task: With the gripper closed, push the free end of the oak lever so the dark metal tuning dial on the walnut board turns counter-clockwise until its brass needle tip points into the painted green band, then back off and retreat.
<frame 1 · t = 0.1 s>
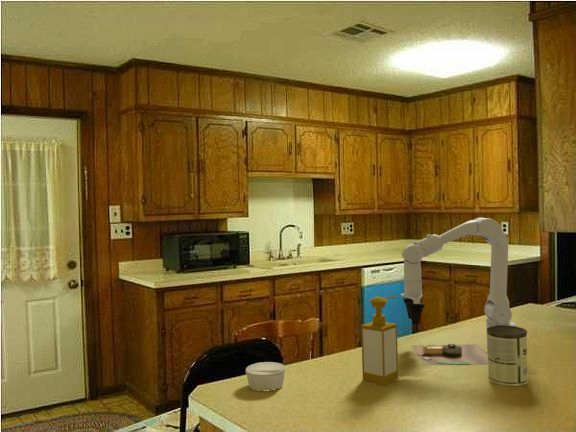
hand: (413, 321, 179), 10 cm above the kitchen counter, tool pointing down, fingers open, 7 cm apart
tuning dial: (442, 349, 171), point 3 cm above the kitchen counter, hinge at 0.0°
coffee can: (507, 380, 149), on the kitchen counter
ramekin: (266, 387, 150), on the kitchen counter
walnut board: (452, 357, 171), on the kitchen counter
soap bottle: (385, 377, 155), on the kitchen counter
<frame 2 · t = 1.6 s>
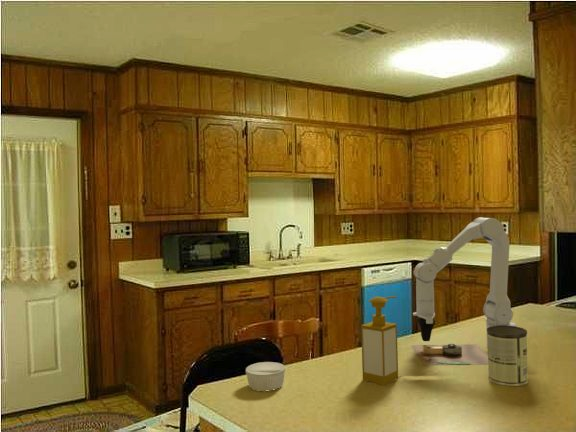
hand: (426, 340, 177), 4 cm above the kitchen counter, tool pointing down, fingers closed
nothing on the kitchen counter moved.
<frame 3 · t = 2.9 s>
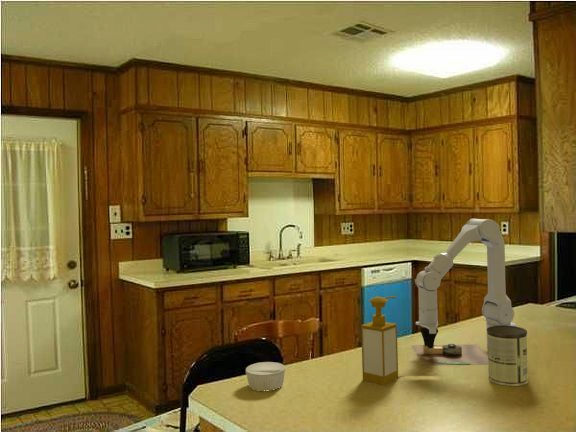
hand: (429, 350, 173), 2 cm above the kitchen counter, tool pointing down, fingers closed, pressing on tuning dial
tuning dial: (442, 349, 171), point 3 cm above the kitchen counter, hinge at 0.1°, touching gripper
everything else where it was.
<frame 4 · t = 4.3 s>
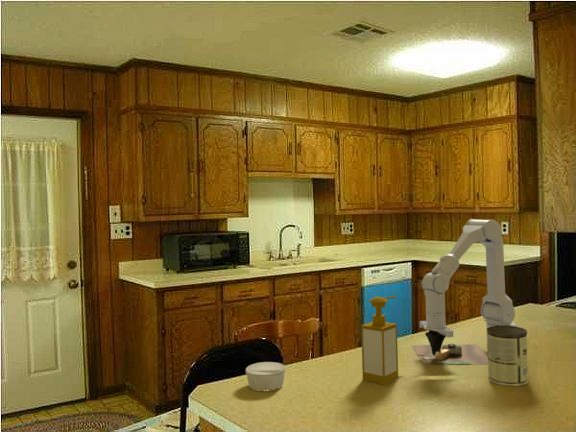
hand: (436, 355, 168), 2 cm above the kitchen counter, tool pointing down, fingers closed, pressing on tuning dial
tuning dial: (447, 351, 169), point 3 cm above the kitchen counter, hinge at 49.4°, touching gripper
everything else where it was.
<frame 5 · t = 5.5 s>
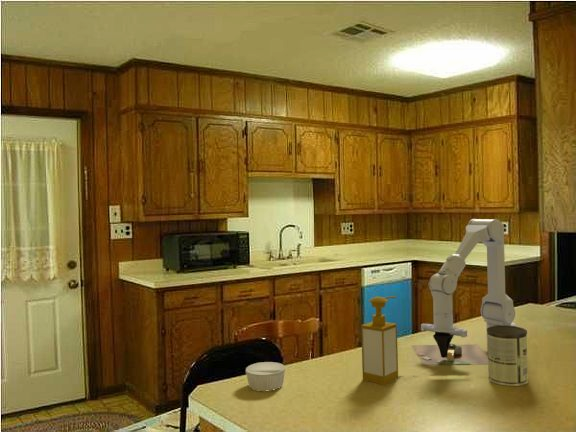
hand: (444, 356, 166), 2 cm above the kitchen counter, tool pointing down, fingers closed
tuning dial: (451, 351, 168), point 3 cm above the kitchen counter, hinge at 73.8°, touching gripper
everything else where it was.
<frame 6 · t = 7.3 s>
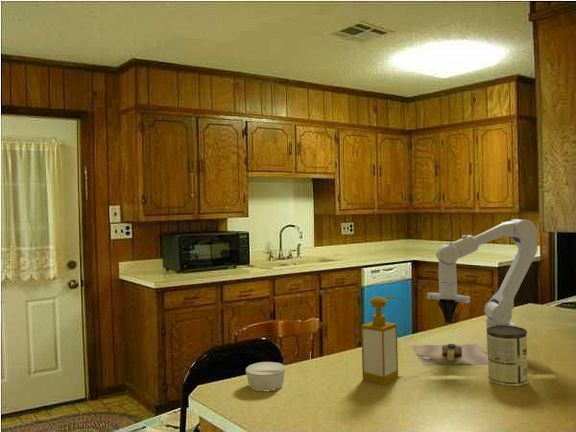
hand: (448, 322, 179), 9 cm above the kitchen counter, tool pointing down, fingers closed
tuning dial: (451, 351, 168), point 3 cm above the kitchen counter, hinge at 74.2°
everything else where it was.
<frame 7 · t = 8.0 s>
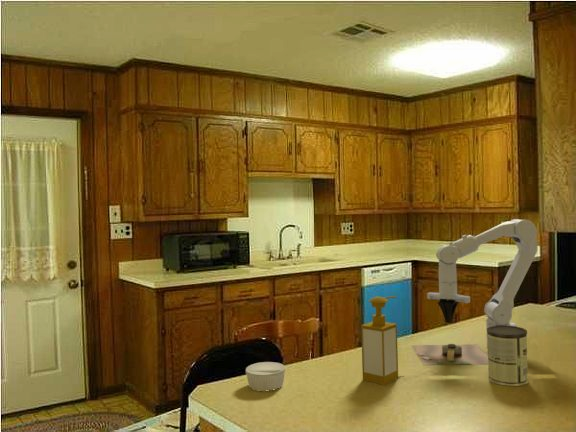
hand: (448, 322, 179), 9 cm above the kitchen counter, tool pointing down, fingers closed
nothing on the kitchen counter moved.
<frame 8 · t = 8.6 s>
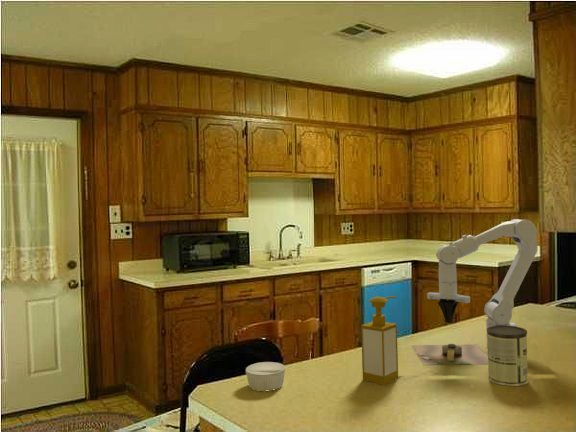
hand: (448, 322, 179), 9 cm above the kitchen counter, tool pointing down, fingers closed
nothing on the kitchen counter moved.
at the end: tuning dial at +74° (first picture: +0°) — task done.
